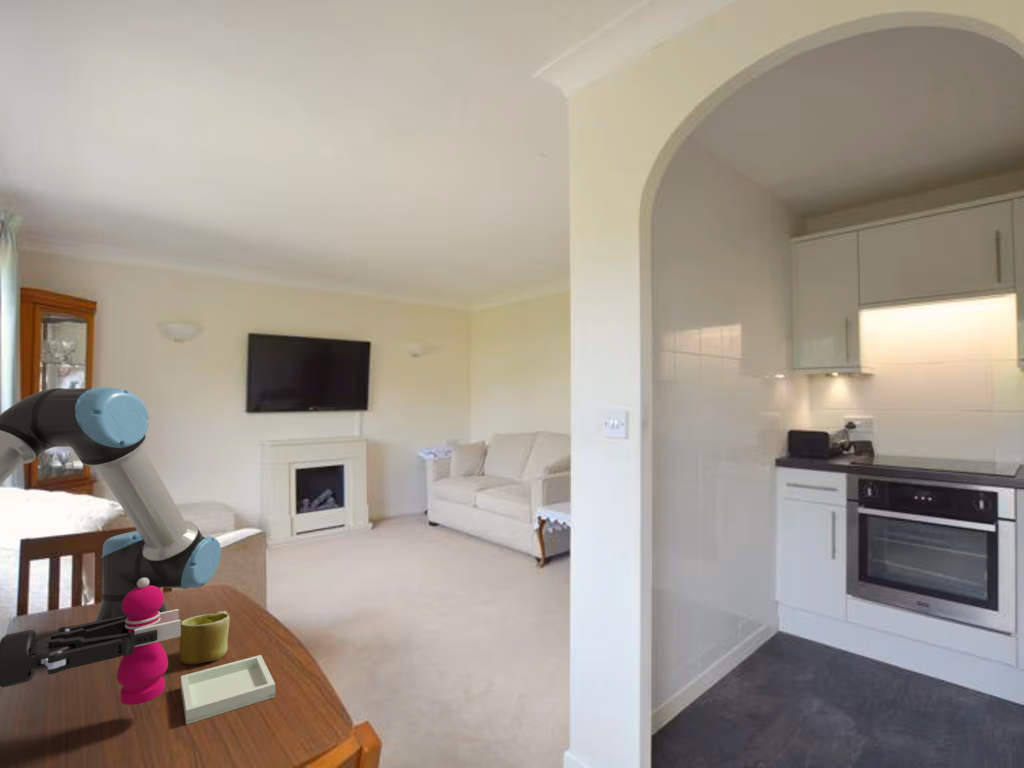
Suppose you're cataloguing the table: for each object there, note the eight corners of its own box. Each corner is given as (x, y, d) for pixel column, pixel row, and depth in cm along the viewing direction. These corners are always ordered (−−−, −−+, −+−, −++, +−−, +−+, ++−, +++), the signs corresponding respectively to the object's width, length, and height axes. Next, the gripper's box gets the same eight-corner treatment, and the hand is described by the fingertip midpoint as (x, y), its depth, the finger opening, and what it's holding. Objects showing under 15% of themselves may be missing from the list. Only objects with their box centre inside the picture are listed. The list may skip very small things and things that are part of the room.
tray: (180, 688, 100) (180, 675, 100) (260, 666, 108) (261, 654, 108) (186, 724, 89) (186, 710, 89) (275, 696, 97) (275, 684, 97)
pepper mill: (111, 711, 86) (111, 588, 86) (123, 689, 92) (123, 574, 93) (163, 700, 89) (163, 581, 89) (171, 679, 95) (171, 568, 96)
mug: (209, 663, 106) (204, 612, 109) (167, 675, 108) (164, 624, 111) (253, 648, 117) (247, 601, 120) (215, 659, 119) (210, 613, 122)
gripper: (11, 662, 88) (176, 625, 101) (-15, 715, 73) (182, 664, 86) (11, 617, 88) (176, 586, 101) (-15, 660, 73) (182, 617, 87)
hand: (179, 622), depth 94 cm, fingers closed on pepper mill, 5 cm apart
